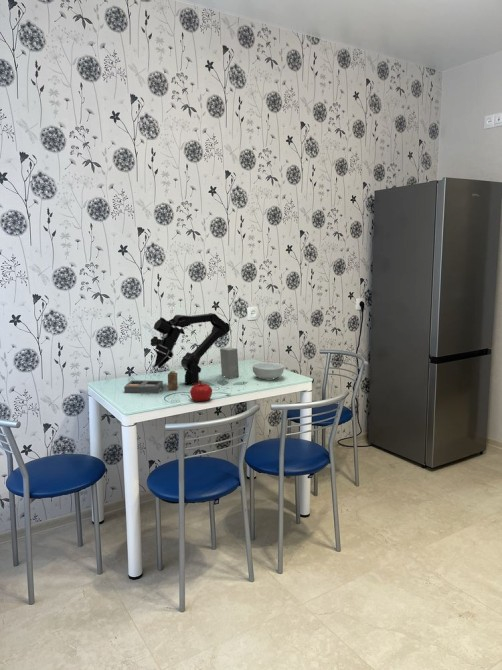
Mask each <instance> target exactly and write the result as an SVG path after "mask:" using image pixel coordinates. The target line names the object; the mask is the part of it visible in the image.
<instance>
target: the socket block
mask: <svg viewBox="0 0 502 670" xmlns="http://www.w3.org/2000/svg"><path fill="white" fill-rule="evenodd" d="M163 383H164V382H163V380H148V379H147V380H146V379H144V380H142V379H141V380H140V379H139V380H137V379H135V380H133V379H130V380H129V381H128V382H127V383H126V384H125V385H124V386H123V388H124V394H125V393H126V394H158V393H159V392H160V391H161V390H162V388H163V386H164V385H163Z"/></svg>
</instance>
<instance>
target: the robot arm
mask: <svg viewBox="0 0 502 670" xmlns="http://www.w3.org/2000/svg"><path fill="white" fill-rule="evenodd" d="M207 322H209V323H210V324H211V325H212V328H211V332H210V333H209V334H208V336H207V337H205V339H203V340H202V342H201V343H200V344H199V345H198V347H196V349H194V351H192V352H188V351H187V352H186V354H185V355H183V356H182V357H181V358H182V359H181V361H180V364H181V367H182V368H183V370H184V371H185V374H184V383H185V385H192V386H194V385H197V384H194V383H198V384H200V382H199V380H200V373H201V371H202V368H201V367H200V366H199V364H200V360H201V358H202V357H203V356H204V355H205V353H206V352H208V350H209V349H210V348H211V347H212V346H213V345H214V343H216V341H217V340H219V339H220V338H222V337H224V336H225V335H226V334H228V333H229V332H230V330H231V329H230V328H231V327H230V324H229V323H228V322H225V320H223V319H221V317H219V316H218V315H217V314H216V313H214V312H213V313H212V312H210V313H205V314H202V313H201V314H195V315H186V314H185V315H184V314H175V315H174V316H173V318H170V319H169V320H167V319H165V318H164V317H160V318H159V319H157V321H156V322H155V323H154V325H153V330H155V331H156V332H159V333H161V334H163V335H166V336H164V337H163V338H161V339H160V338H158V336H153V337H152V338H151V339H150V346H151V347H155V353H156V357H155V362H154V367H157V368H158V369H161V368H162V367H163V366H164V365H166V363H167V362H169V361H170V360H171V359H172V358H174V353H173V349H174V347H175V346H176V345H177V341H178V339H179V337H180V335H181V334H182V335H185V330H184V328H186V327H189V326H191V325H193V324H200V323H201V324H202V323H207Z"/></svg>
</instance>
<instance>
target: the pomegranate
mask: <svg viewBox="0 0 502 670" xmlns="http://www.w3.org/2000/svg"><path fill="white" fill-rule="evenodd" d="M194 384H197V385H192V387H191V389H190V392H189V393H190V397H191V399H192V400H193V401H194V402H207V401H209V400H210V399H211V397H212V395H213V389H212V387H211V386H210V385H209V384H208V383H205V382H204V383H202V380H200V379H199V384H198V383H194Z"/></svg>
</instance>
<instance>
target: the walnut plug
mask: <svg viewBox="0 0 502 670" xmlns="http://www.w3.org/2000/svg"><path fill="white" fill-rule="evenodd" d="M178 389H179V386H178V372H176V371H175V370H171V371H170V372H168V373H167V391H170V392H173V391H175V392H176V391H178Z"/></svg>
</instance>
